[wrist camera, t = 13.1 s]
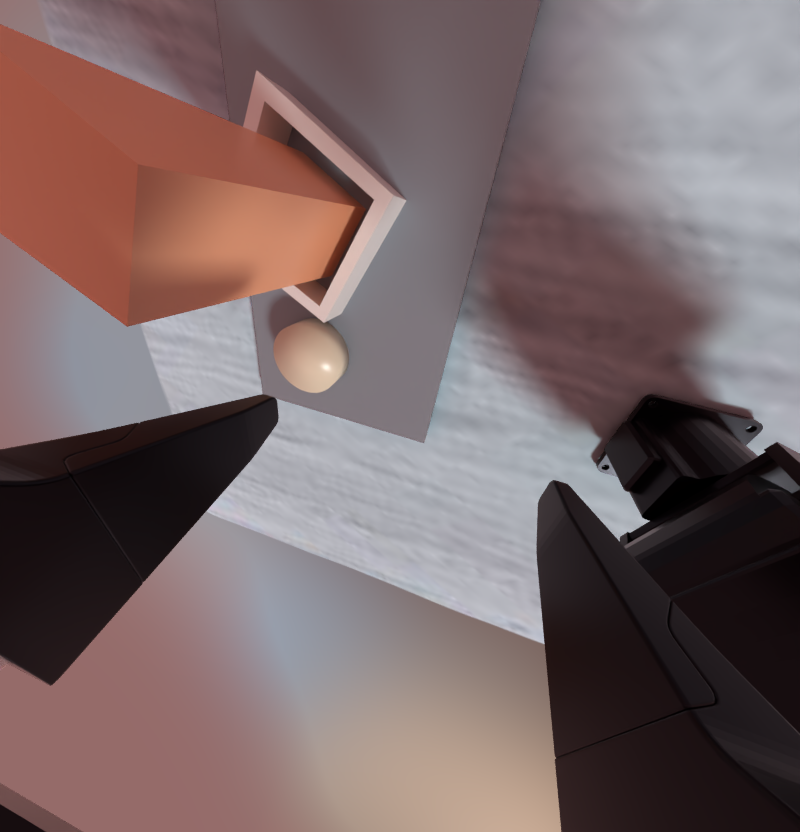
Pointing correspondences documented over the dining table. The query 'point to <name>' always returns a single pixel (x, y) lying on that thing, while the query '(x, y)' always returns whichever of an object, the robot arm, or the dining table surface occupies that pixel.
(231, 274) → the orange square prism
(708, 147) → the dining table surface
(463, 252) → the board
